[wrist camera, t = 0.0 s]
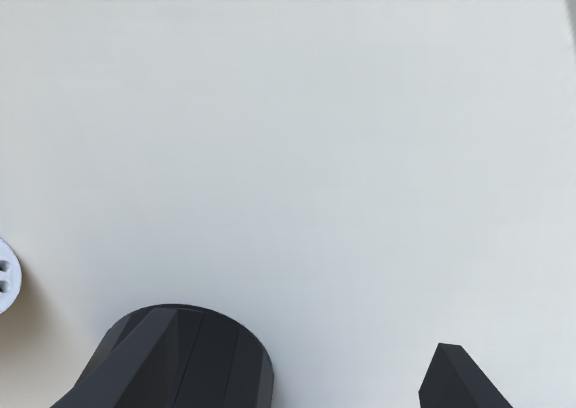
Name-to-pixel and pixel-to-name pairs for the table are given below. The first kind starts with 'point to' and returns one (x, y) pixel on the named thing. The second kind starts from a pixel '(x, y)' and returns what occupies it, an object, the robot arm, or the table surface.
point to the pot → (205, 360)
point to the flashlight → (8, 276)
